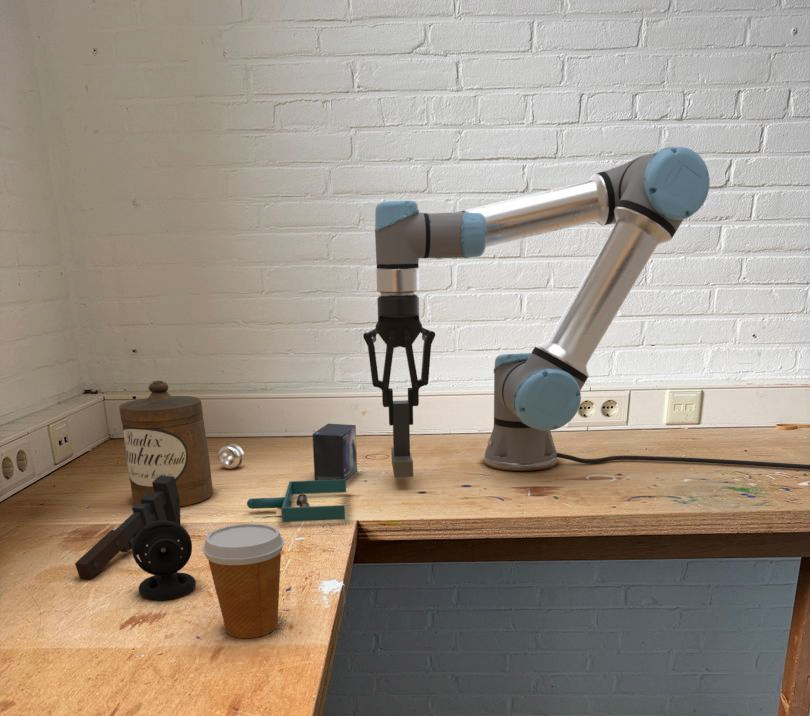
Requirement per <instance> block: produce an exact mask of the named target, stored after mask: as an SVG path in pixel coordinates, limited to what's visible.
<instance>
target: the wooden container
mask: <svg viewBox="0 0 810 716" xmlns="http://www.w3.org/2000/svg"><path fill="white" fill-rule="evenodd" d="M147 389H148V391H149V392H150V394H149V396H148V397H147V398H146V397H145V398H140V399H134V400H129V401H126V402H123V403H121V404H120V405H119V406H118V407H119V416H120V422H121V424H122V432H123V440H124V447H125V455H126V463H127V465H126V466H127V471H128V478H129V482H130V489H131V496H132V497H131V498H132V501H133V503H134V505H135V504H139V505H142V503H141V498H143V497H144V496H145V495H146V494H147V493H155V492H154V488H153V485H152V482H153V481H154V480H155V479H157V478H158V477H159V476H174V478H175V482H176V486H177V489H178V493H179V497H180V507H184V506H190V505H195V504H198V503H201V502H203V501H205V500H208V499H209V498H210V497H212V496H213V494H214V489H213V488H214V487H213V479H212V471H211V470H212V469H211V462H210V453H209V446H208V442H207V441H208V439H207V434H206V428H205V427H206V426H205V422H204V412H203V406H202V400H201V398H199V397H196V396H191V395H190V396H187V395H171V394H170V393H169V392H168V390H169V384H168V383H166V382H164V381H163V380H153V381H152V383H150V384H149V385H148V387H147Z"/></svg>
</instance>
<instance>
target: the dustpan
mask: <svg viewBox="0 0 810 716" xmlns="http://www.w3.org/2000/svg"><path fill="white" fill-rule="evenodd" d="M328 493H329V494H330V493H347V481H346V479H339V480H314V479H313V480H292V481H289V482H288V485H287V488H286V491H285V494H284V496H280V497H259V498H257V497H256V498H253V497H252V498H249V499H248V500H247V502H246V504H247V508H248V509H251V510H255V509H256V510H257V509H278V508H281V519H282V520H281V521H282V523H288V522H289V523H290V522H313V521H335V520H336V521H337V520H346V508H345V507H346V506H345V505H344V504H341V505H340V504H338V505H337V504H336V505H313V506H310V507H300V506H292V507H291V505H292V498H293V495H300V494H304V495H306V494H328Z"/></svg>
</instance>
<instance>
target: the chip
mask: <svg viewBox="0 0 810 716" xmlns="http://www.w3.org/2000/svg"><path fill="white" fill-rule="evenodd" d="M303 502H307V503H308V497H307V495H306V494H298V495H297V498H296V506H298V507H300V505H301V503H303Z"/></svg>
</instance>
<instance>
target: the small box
mask: <svg viewBox="0 0 810 716" xmlns="http://www.w3.org/2000/svg"><path fill="white" fill-rule="evenodd" d="M356 426H357V425H356V424H344V423H343V424H342V423H327V424H325V425H324V426H322V427H321V428H319V429H318V430H316V431H315V432H313V433H312V454H313V476H314V477H313V478H314V479H313V480H339V479H346V482H347V481H348V480H349V479H350V478H351V477H352V476H353V475H354V474H355V473H357V472H358V458H357V457H358V456H357V455H358V451H357V427H356Z"/></svg>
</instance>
